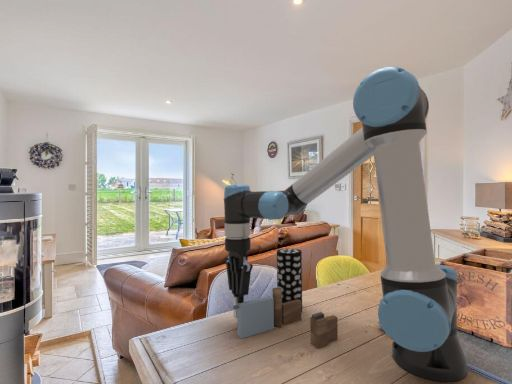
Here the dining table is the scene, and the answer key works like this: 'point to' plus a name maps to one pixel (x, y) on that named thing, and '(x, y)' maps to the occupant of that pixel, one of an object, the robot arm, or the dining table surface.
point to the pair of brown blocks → (291, 312)
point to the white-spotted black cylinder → (289, 274)
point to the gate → (255, 316)
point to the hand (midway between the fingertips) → (238, 316)
